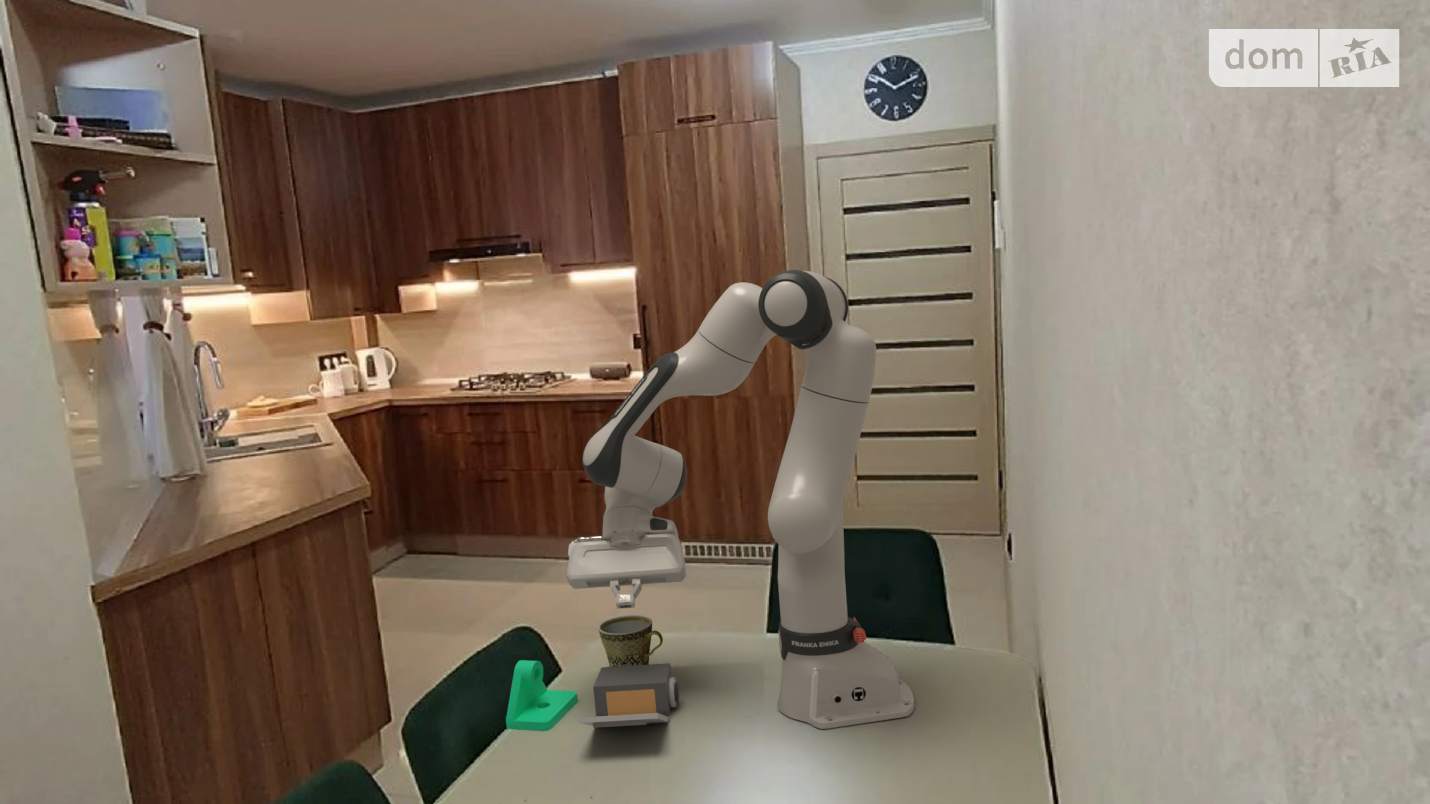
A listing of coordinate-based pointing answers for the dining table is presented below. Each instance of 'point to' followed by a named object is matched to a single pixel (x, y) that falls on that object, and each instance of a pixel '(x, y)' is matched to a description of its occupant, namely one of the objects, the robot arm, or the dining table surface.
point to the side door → (624, 720)
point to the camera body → (635, 690)
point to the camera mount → (535, 699)
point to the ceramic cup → (628, 640)
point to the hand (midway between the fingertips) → (625, 606)
